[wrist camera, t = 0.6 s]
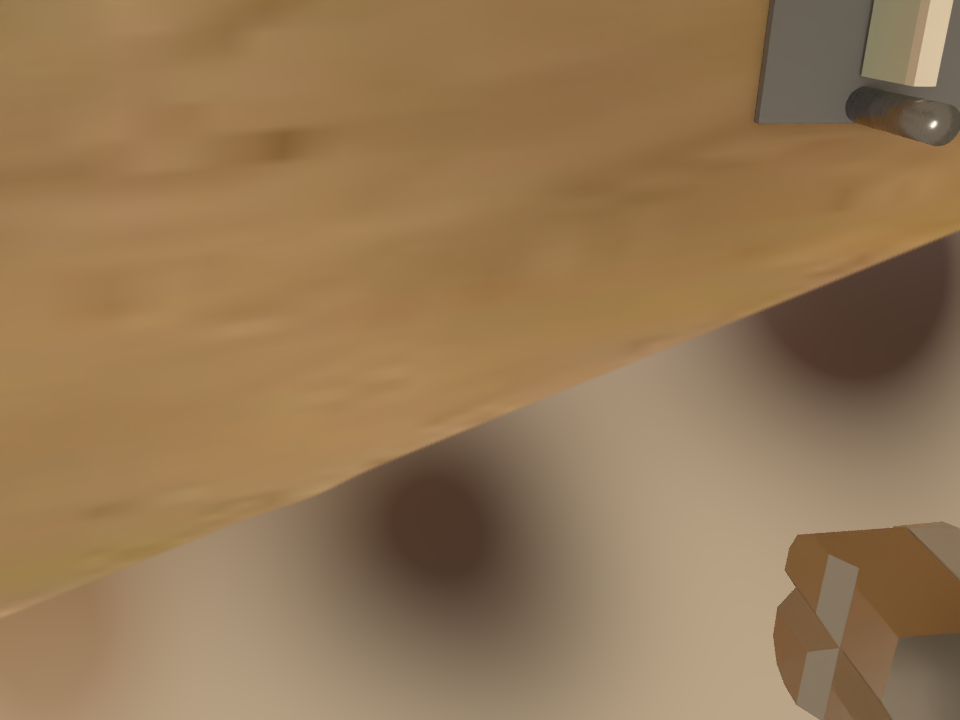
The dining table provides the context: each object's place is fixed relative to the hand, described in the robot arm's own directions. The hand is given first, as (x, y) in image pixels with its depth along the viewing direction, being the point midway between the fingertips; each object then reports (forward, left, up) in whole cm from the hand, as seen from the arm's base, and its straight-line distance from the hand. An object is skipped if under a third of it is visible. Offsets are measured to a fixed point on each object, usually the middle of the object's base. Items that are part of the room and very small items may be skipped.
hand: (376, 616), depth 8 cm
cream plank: (-6, +29, -42) cm, 51 cm away
